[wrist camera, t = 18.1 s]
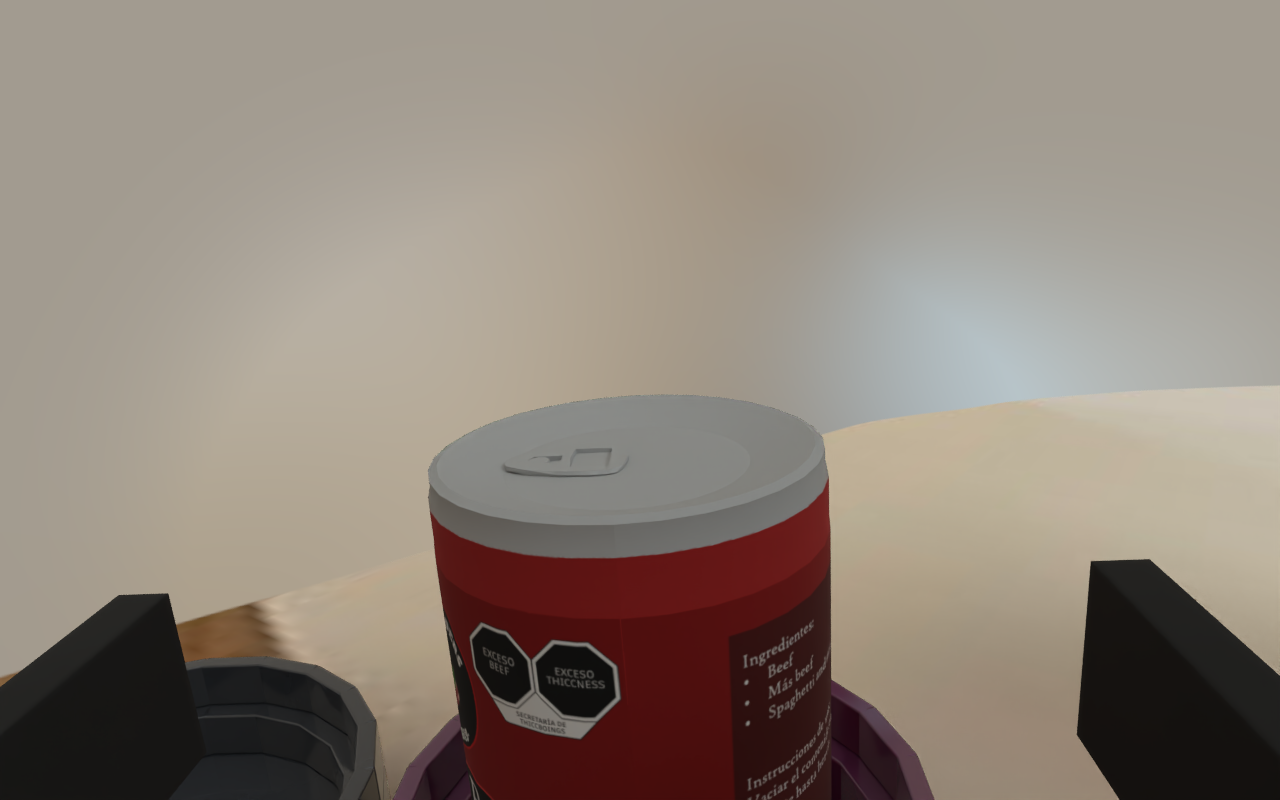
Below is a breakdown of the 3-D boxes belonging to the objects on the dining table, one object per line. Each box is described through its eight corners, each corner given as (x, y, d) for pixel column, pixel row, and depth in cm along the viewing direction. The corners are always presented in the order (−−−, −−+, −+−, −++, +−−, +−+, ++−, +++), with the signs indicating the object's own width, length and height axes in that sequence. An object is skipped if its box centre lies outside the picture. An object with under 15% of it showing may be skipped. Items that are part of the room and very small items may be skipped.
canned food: (479, 809, 23) (423, 418, 20) (760, 747, 25) (747, 376, 22) (503, 1098, 16) (421, 555, 13) (896, 983, 18) (905, 478, 15)
